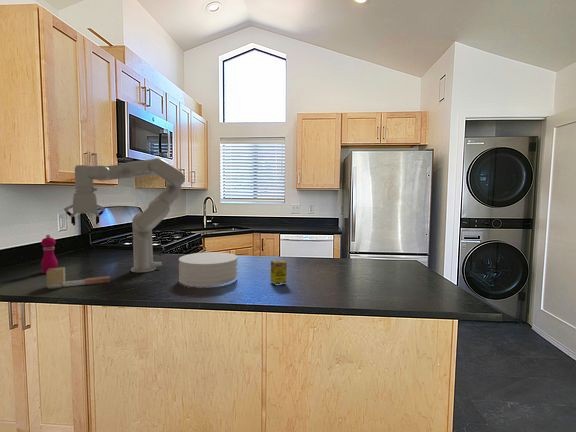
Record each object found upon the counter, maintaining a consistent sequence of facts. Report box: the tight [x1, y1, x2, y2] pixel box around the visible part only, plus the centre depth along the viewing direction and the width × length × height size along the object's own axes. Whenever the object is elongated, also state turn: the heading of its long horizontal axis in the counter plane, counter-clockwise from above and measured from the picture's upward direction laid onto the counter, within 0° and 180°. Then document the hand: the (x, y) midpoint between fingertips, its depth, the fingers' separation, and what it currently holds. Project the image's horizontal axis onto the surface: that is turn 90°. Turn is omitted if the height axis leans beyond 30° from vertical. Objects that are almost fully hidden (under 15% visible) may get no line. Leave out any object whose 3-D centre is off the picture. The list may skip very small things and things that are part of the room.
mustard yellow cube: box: [46, 266, 66, 285], centre depth 142 cm, size 6×6×6 cm
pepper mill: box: [40, 234, 59, 275], centre depth 166 cm, size 7×7×20 cm
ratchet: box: [46, 275, 111, 290], centre depth 146 cm, size 24×6×6 cm, turn 119°
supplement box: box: [269, 260, 288, 284], centre depth 151 cm, size 6×6×11 cm
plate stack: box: [178, 251, 238, 286], centre depth 156 cm, size 28×28×12 cm
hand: (85, 224), depth 158 cm, fingers open, 9 cm apart
